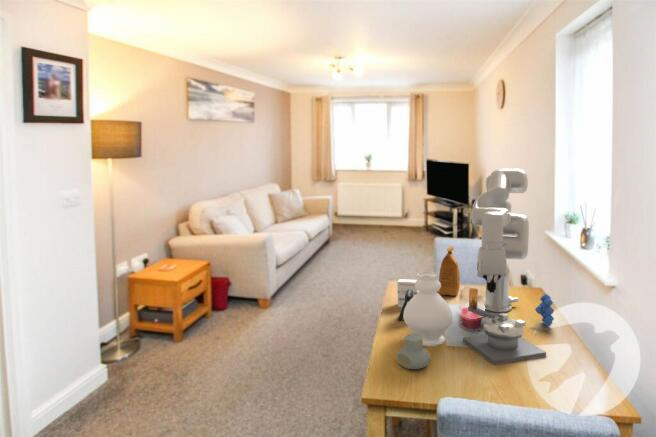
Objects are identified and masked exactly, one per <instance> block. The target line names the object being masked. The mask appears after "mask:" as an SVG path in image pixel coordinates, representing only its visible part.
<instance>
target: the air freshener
mask: <svg viewBox="0 0 656 437" xmlns="http://www.w3.org/2000/svg"><path fill="white" fill-rule="evenodd" d="M403 340H404V342H403V343H404V344H403V345H404V346H403V347H402V348H400V349H399V350H398V352H397V354H396V360H397V362H398V363H399V364H400V365H401V366H402V367H403V368H406V369H407V370H420V369H423V368H425V367H427V366H428V365H429V363H430V362H431V354H430V353H429V352H428V350H427V349H425V348H424V347H423V344H422V337H421V336H420V335H417V334H414V333H409V334H406V335H405V336H404V339H403Z"/></svg>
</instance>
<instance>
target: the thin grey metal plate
mask: <svg viewBox="0 0 656 437" xmlns="http://www.w3.org/2000/svg"><path fill="white" fill-rule="evenodd" d="M462 342H463V343H464V344H465V345H467V346H468V347H469V348H470V349H472V350H473V351H475V352H476V353H477V354H478V355H480V356H481V357H483V358H484V359H485V360H487V361H488V362H489V363H491V365H493V366H495V365H496V366H497V365H501V364H502V365H503V364H508V363H513V362H515V363H516V362H520V361H526V360H532V359H537V358H543V357H544V358H545V357H547V352H546V350H545V351H544V350H543V349H542V348H540V347H538V346H537V345H536V344H534V343H531V342H530V341H528V340H527V339H525V338H523V336H522V337H520V338H518V339H512V340H504V339H497V338H493V337H490V336H488V335H487V334H485V333H484V334H475V335H470V336H464V337H462Z"/></svg>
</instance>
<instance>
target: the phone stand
mask: <svg viewBox="0 0 656 437" xmlns="http://www.w3.org/2000/svg"><path fill="white" fill-rule="evenodd" d="M408 291H409V289H408V290H407V291H406V294H405V302H404V304H403V307H401V310H400V312H399V316H398V318H397V322H404V323H405V321H404V317H403V314H404V309H405V307H406V305H407V302H409V301H410V300H411V299H412V298H413V297H414V296H413V294H414V292H413V290H412V289H411V291H410V295H408Z"/></svg>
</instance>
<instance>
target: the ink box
mask: <svg viewBox="0 0 656 437" xmlns="http://www.w3.org/2000/svg"><path fill="white" fill-rule="evenodd" d="M417 280H418V279H404V278H402V279H401V278H399V279H398V280H397V307H398V308H402V307H403V304H404V302H405V294H406V291H407V290H408V289H409V291H408V295H410V291H411V289H412V290H413V292H414V294H413V296H415V295H416V294H417V293H418V292H419V291H418V290H417V289H416V288H415V282H416V281H417ZM407 304H408V302H407Z"/></svg>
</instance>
